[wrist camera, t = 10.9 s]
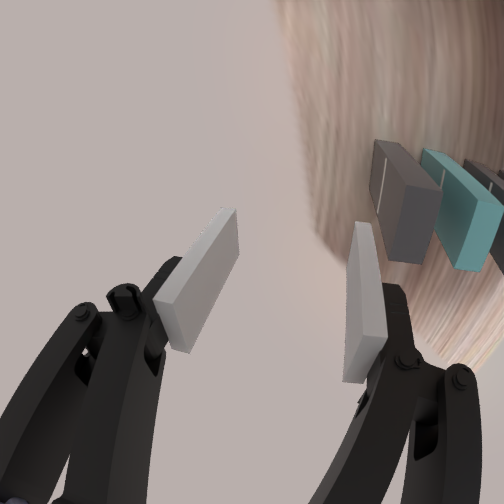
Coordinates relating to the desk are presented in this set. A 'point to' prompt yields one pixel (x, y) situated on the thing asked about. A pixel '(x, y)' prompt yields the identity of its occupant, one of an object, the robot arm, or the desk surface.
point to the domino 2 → (463, 212)
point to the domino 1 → (403, 202)
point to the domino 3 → (500, 189)
